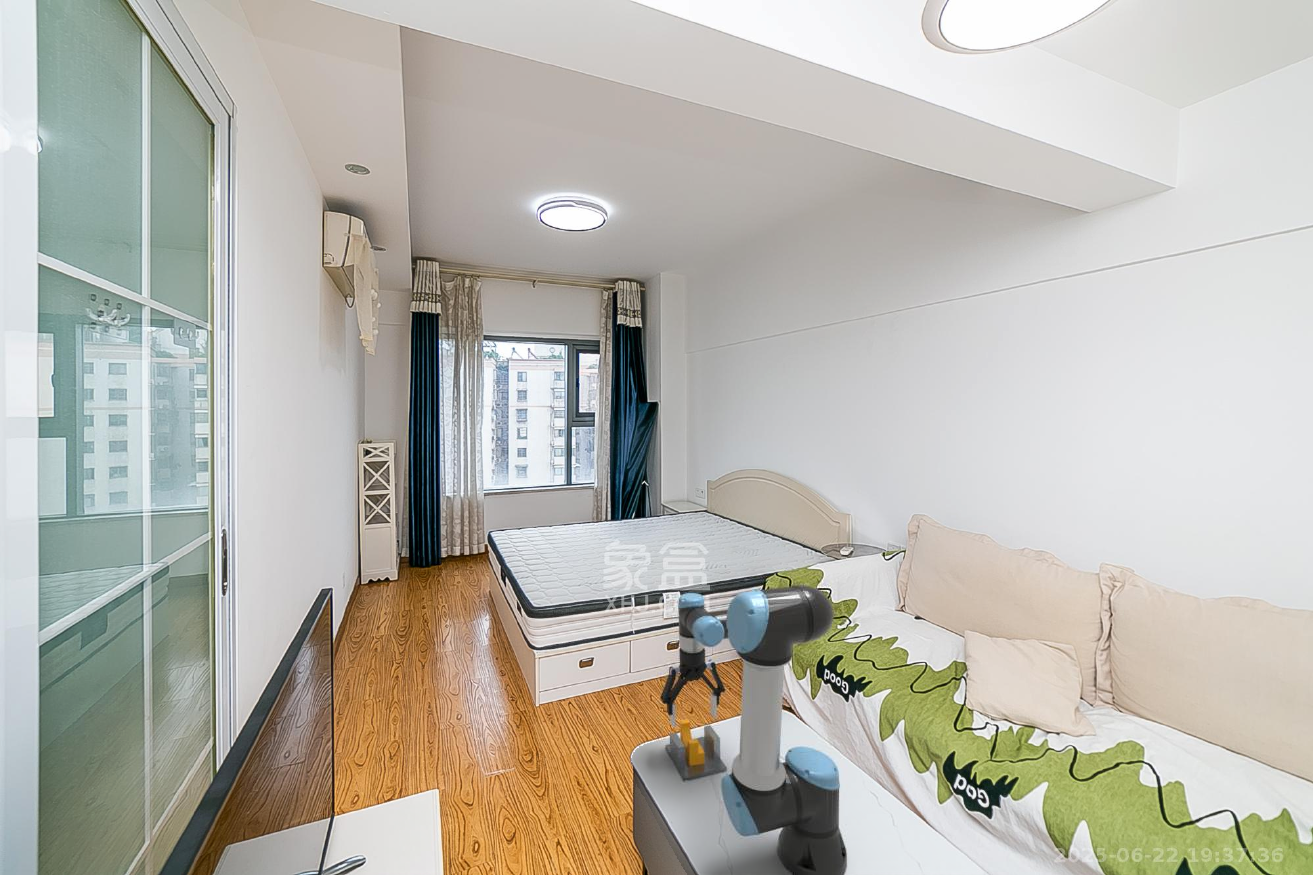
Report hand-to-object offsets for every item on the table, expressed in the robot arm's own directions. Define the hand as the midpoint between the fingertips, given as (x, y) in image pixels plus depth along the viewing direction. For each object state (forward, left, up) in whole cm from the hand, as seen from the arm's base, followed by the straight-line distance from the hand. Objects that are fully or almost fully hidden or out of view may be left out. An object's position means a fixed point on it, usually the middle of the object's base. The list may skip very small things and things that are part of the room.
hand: (693, 720), depth 160 cm
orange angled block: (+1, 0, -11) cm, 11 cm away
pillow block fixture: (-1, 0, -11) cm, 11 cm away
